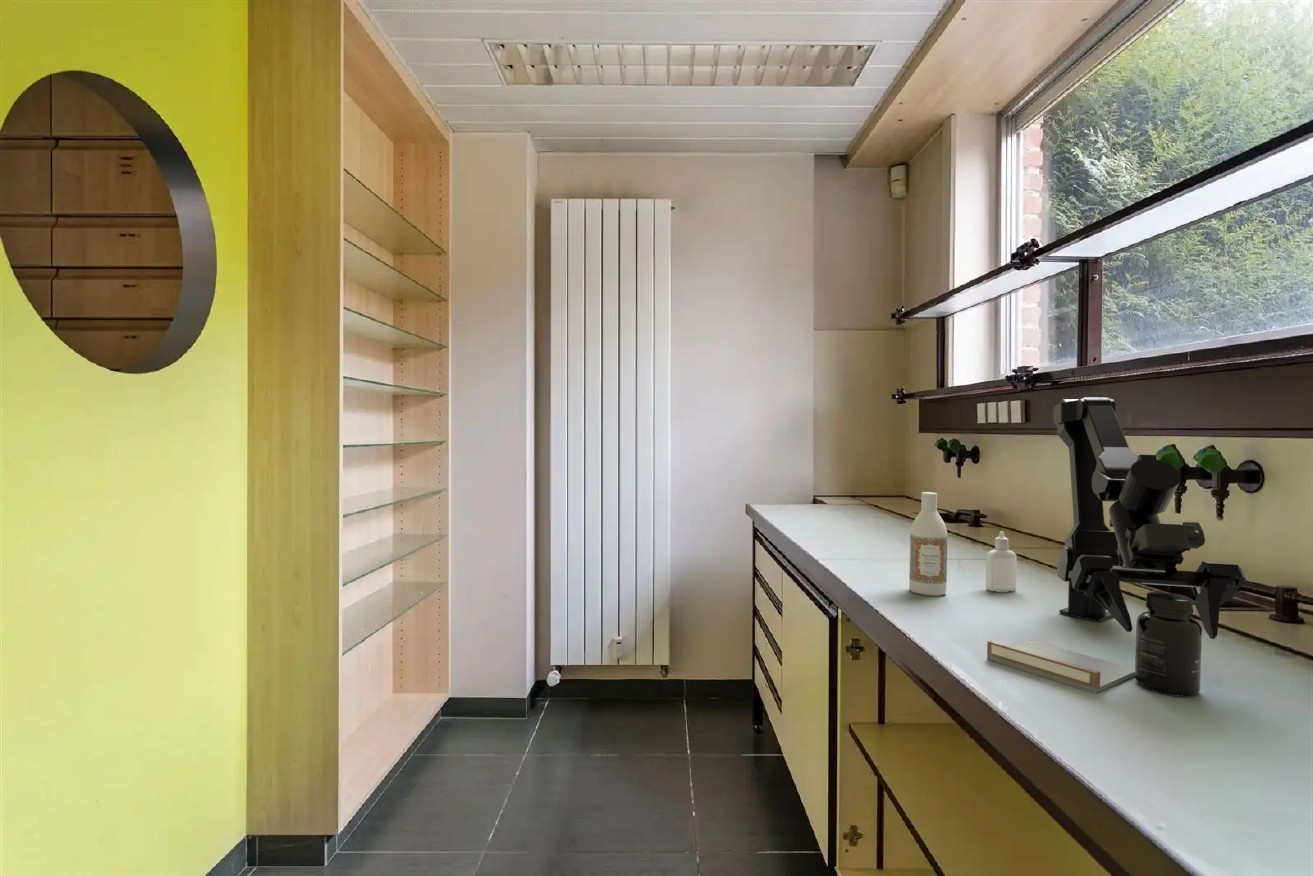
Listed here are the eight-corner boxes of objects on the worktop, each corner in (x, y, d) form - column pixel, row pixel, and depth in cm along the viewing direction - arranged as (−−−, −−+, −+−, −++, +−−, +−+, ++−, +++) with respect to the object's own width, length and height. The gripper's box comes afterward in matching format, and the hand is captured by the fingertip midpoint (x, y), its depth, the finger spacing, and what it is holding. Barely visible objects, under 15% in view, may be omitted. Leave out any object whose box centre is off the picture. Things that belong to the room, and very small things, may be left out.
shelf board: (1031, 644, 105) (1031, 627, 105) (1138, 674, 92) (1139, 655, 92) (986, 659, 98) (986, 641, 98) (1095, 693, 86) (1095, 673, 86)
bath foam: (910, 595, 133) (911, 494, 133) (908, 586, 140) (909, 490, 139) (948, 598, 131) (950, 495, 131) (944, 589, 138) (946, 491, 137)
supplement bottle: (1212, 700, 84) (1215, 604, 84) (1150, 695, 85) (1153, 601, 85) (1181, 679, 91) (1184, 590, 90) (1124, 675, 92) (1127, 587, 92)
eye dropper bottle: (1017, 594, 134) (1019, 534, 134) (986, 591, 136) (987, 532, 136) (1014, 589, 139) (1015, 530, 138) (984, 586, 141) (985, 529, 140)
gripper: (1078, 497, 94) (1104, 594, 84) (1240, 502, 89) (1288, 607, 79) (1061, 543, 102) (1082, 638, 92) (1209, 551, 97) (1249, 653, 86)
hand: (1171, 634), depth 87 cm, fingers open, 9 cm apart
